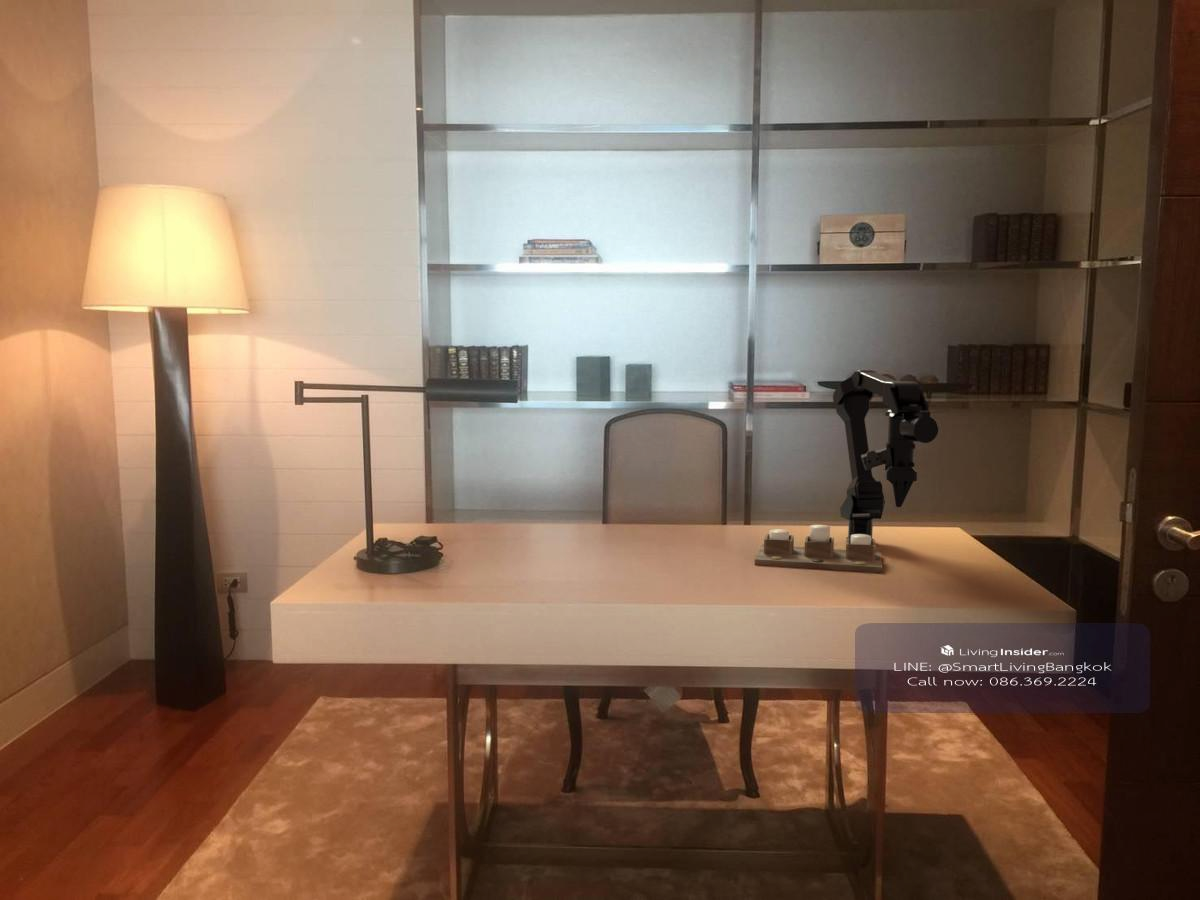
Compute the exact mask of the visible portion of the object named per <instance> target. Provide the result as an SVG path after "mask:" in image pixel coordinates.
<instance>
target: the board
mask: <svg viewBox="0 0 1200 900" xmlns="http://www.w3.org/2000/svg"><path fill="white" fill-rule="evenodd" d="M794 538H795V537H794V534H793V535H791V534H789V540H775V539H769V533H766V534H765V536H764V539H763V544H761V545H760V547H759V549H758V552H757V554H756V556H755V558H754V565H756V566H757V565H759V566H773V567H774V566H775V567H785V568H786V567H787V568H789V567H790V568H802V569H820V570H834V571H835V570H836V571H847V572H849V571H850V572H864V573H866V572H867V573H876V574H877V573H880V574H881V573H883V563H882V552H881V551H876V539H874V540H871V545H860V544H851V539H849V538H847V537H846V538H847V540H846V539H845V541H846V542H845V549H839V548H838V549H837V548H835V542H834V541H835V537H831V536H830V540H829V543H826V542H809V541H810V535H806V536H805V539H804V547H803V546H794V545H795V544H794V542H795V539H794Z"/></svg>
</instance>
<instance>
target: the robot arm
mask: <svg viewBox="0 0 1200 900" xmlns="http://www.w3.org/2000/svg"><path fill="white" fill-rule="evenodd" d="M875 395H877V396H879V397H882V403H883V404H885V405H886V406H887V407H888V408H889V409H888V410H887V411H886V412H885V413H884V415H885V416H886V417H888V428H887V429H888V436H887V442H886V443H885V447H884V448H879V449H876V450H875V449H872V450H870V449H869V442H868V434H867V427H866V425H867V424H866V417H867V415H868V412H869V411H870V409H871V408H870V407H871V403H870V402H871V401H872V399H873V398H874V396H875ZM832 401H833V403H834V405H835V410H836V414H837V415H838V416H839V417H840V419H841V420H842V421H843V422H844V423H843V424H844V427H845V435H846V443H847V452H848V459H849V466H850V475H851V480H850V482H849V485H848V487H847V489H846V498H845V500H844V502H843V503H842V505H841V506H840V508H839V512H840V517H841V518H843V519H845V520H848V527H847V528H848V530H847V532H848V533H847V537H846V539H845V541H846V540H847V538H849V539H851V535H853V534H865V535H870V536H871V540H875V539H874V538H873V527H874V524H873V523H874V520H876V519H878V520H882V516H883V511H884V507H885V504H886V501H885V495H884V491H883V484H882V482H881V480H880V481H877V480H876V479H875V477H874V476H873V470H872V469H873V468H876V467H879V466H882V465H884V471H886V473H885V478H886V481H888V482H889V483H890V484H891V485H892V489H893V496H894V501H895V502H894V503H895V508H901V507H902V506H903V504H904V502H905V499H906V497H907V495H908V493H909V492H910V490H911V487H912V485H913V483H914V482H917V480H918V479H917V477H918V475H917V474H918V472H917V470H916V469H915V449H916V443H923V444H928V443H931V442H932V441H934V440H935V439H936V438H937V436H938V433H939V426H938V422H937V421H936V420H935V419H934V418H933V417H931V411H930V409H929V403H928V402H927V399H926V397H925V394H924V392H923V389H922V388H921V385H920V384H919V383H918V382H916V381H903V380H902V381H900V380H898V381H897V380H895V379H892V378H890V377H888V376H885V375H883V374H880V373H878V372H876V371H875V370H873V369H872V370H871V369H869V370H868V369H861V370H856V371H854V372H853V373H852V375H851V376H850V377H848V378H846V379H845V380H843V381H841V382H840V383H839V384H838V386H837V387H836V388H835V390H834V392H833V393H832Z"/></svg>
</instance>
